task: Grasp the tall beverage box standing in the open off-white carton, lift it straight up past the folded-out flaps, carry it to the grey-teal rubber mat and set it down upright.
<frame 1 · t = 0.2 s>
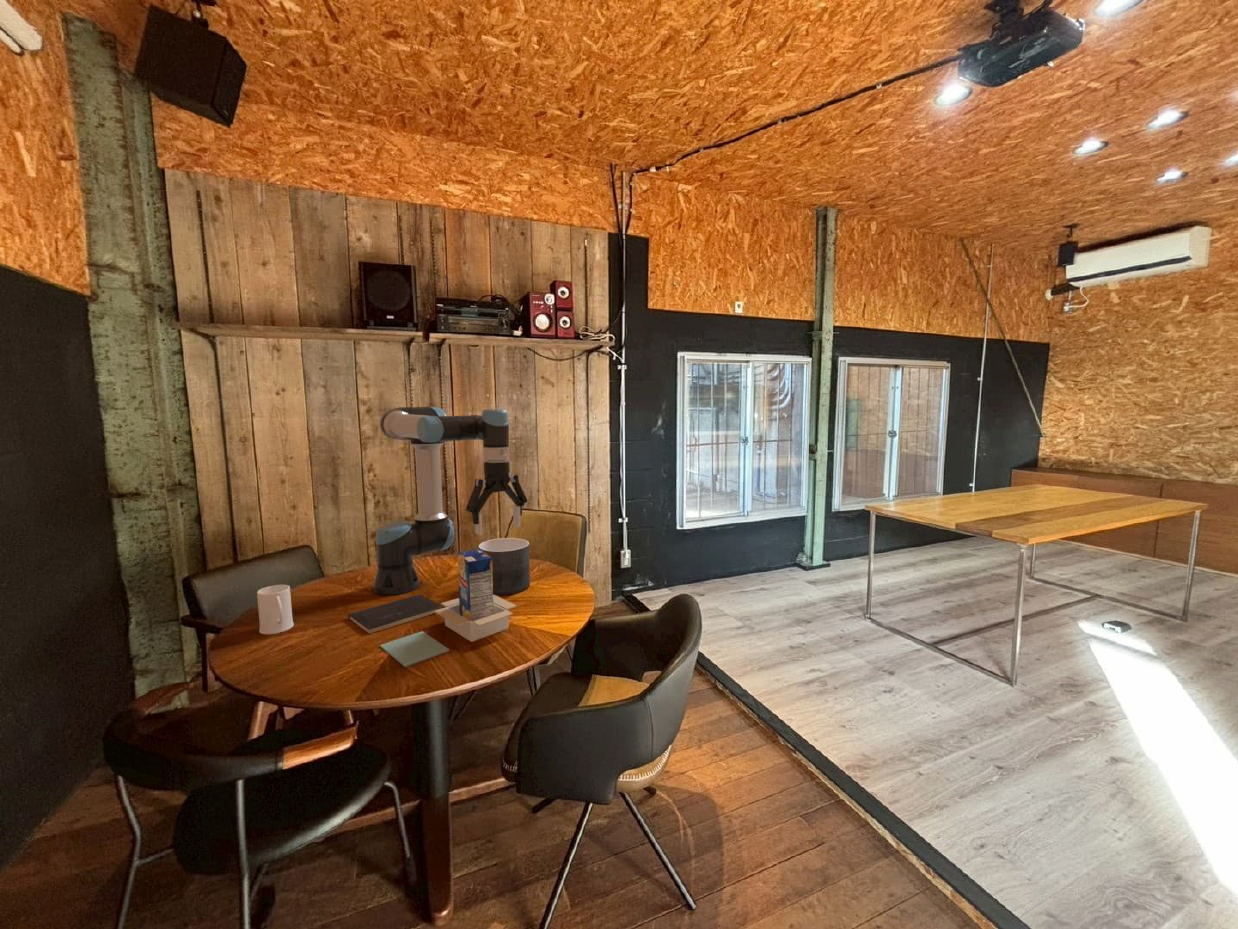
hand: (498, 530, 157), 28 cm above the table, fingers open, 13 cm apart
planter: (505, 587, 187), on the table
hardcover book: (396, 617, 162), on the table
carton: (476, 627, 153), on the table
beverage box: (476, 627, 153), resting in carton
mug: (277, 630, 151), on the table
mat: (414, 648, 140), on the table
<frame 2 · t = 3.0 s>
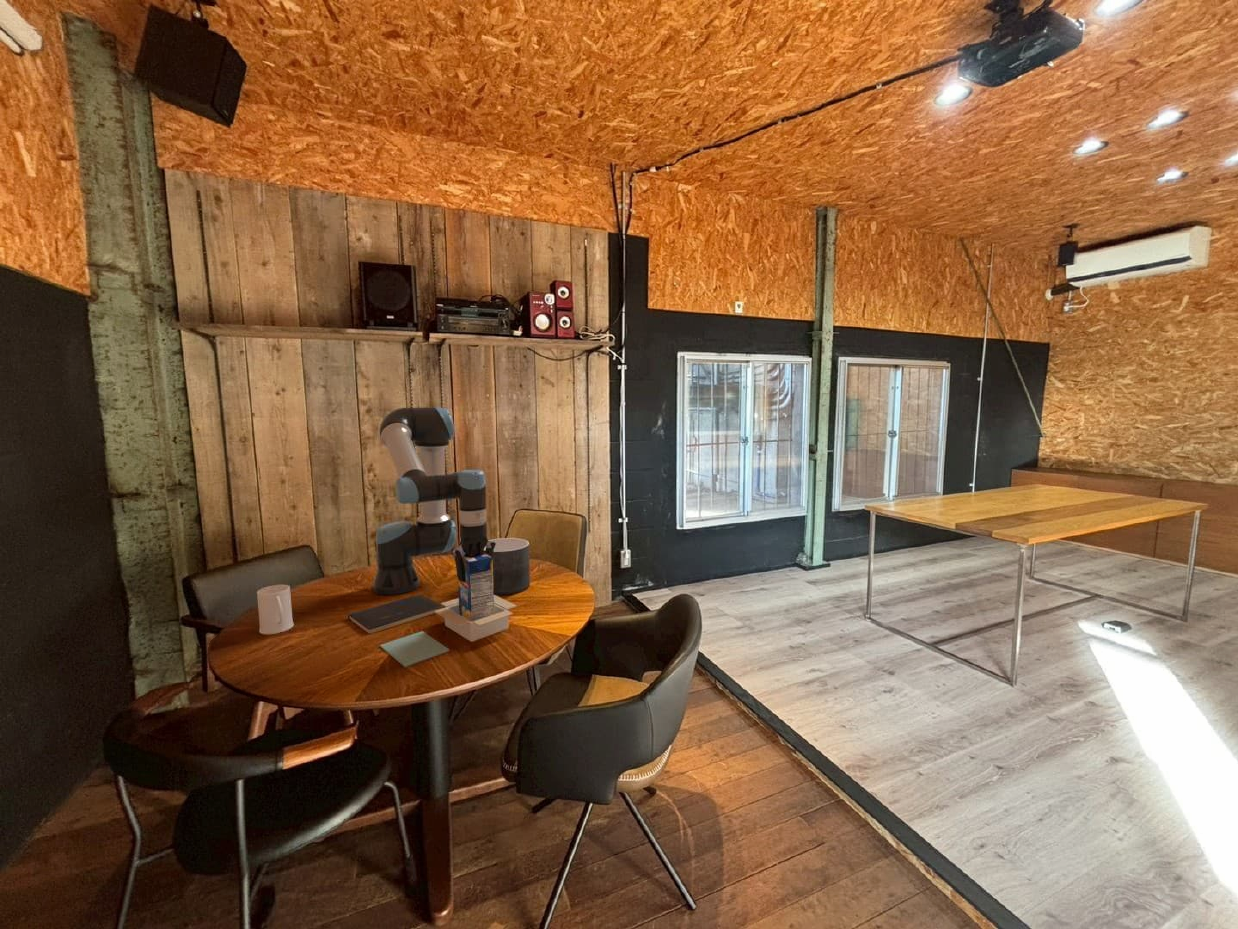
hand: (475, 601, 152), 8 cm above the table, fingers closed on beverage box, 2 cm apart
beverage box: (476, 627, 153), resting in carton, touching gripper
everything else where it was.
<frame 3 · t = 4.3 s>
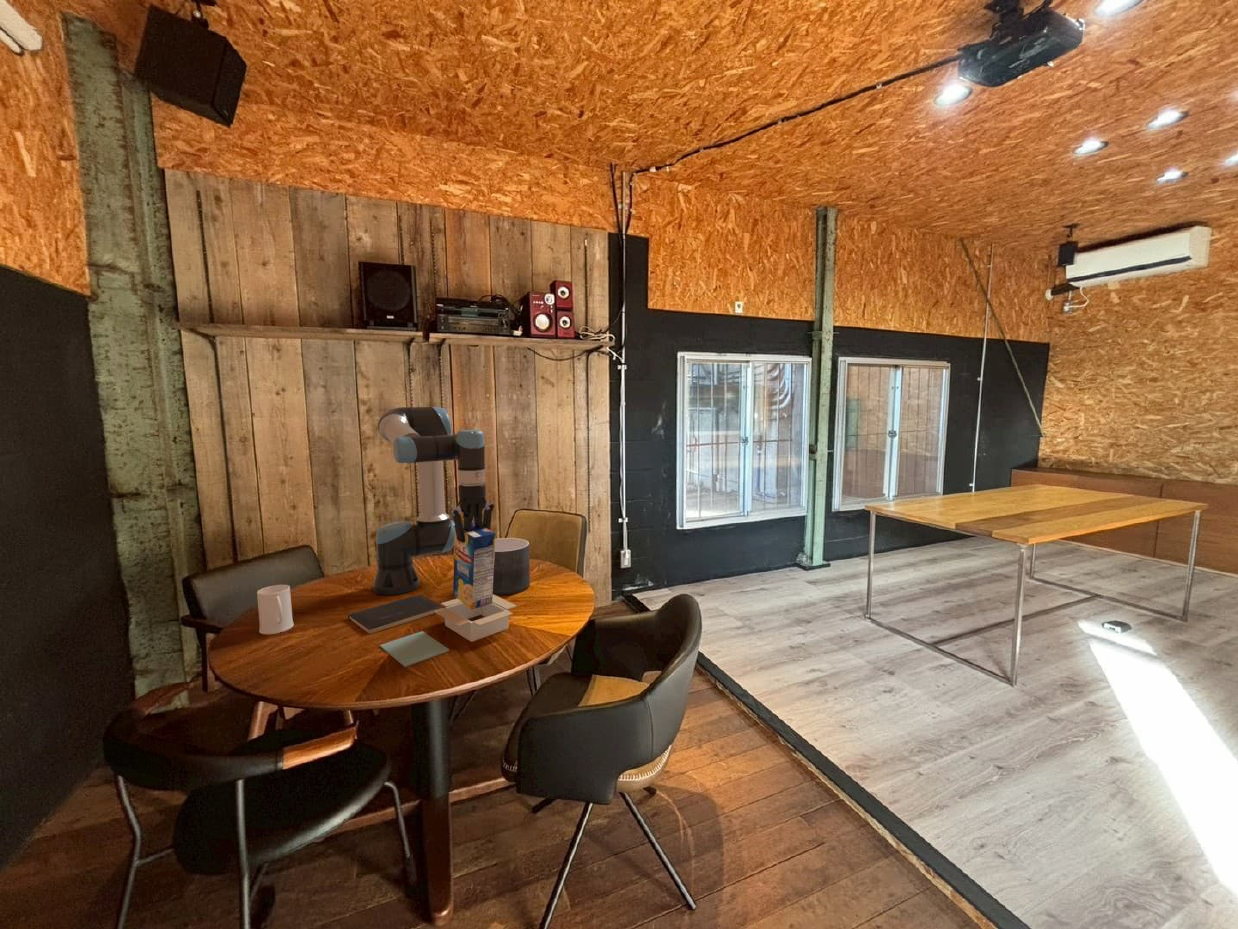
hand: (474, 562, 151), 20 cm above the table, fingers closed on beverage box, 2 cm apart
beverage box: (472, 599, 154), point 8 cm above the table, touching gripper, hand
everything else where it was.
when the fingers open (10 cm above the table, at t = 9.1 s): beverage box stays where it is, resting on mat.
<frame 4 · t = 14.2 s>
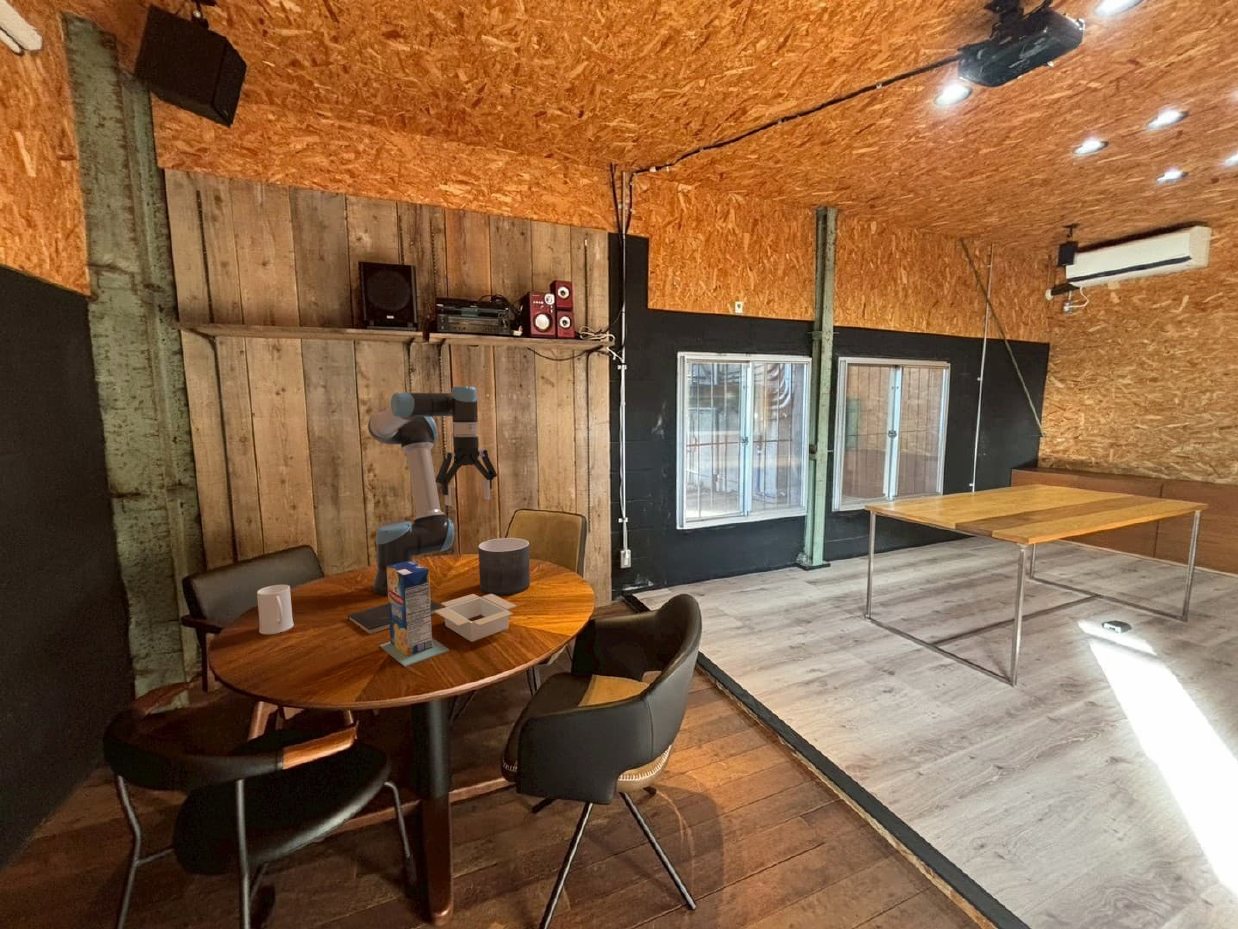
hand: (468, 502, 164), 35 cm above the table, fingers open, 13 cm apart
beverage box: (411, 646, 141), resting on mat
everything else where it was.
at the end: beverage box inside the target area on the mat (1.6 cm from its centre), point 0.2 cm above the mat's base; beverage box tilted 0°; the gripper is holding nothing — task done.
